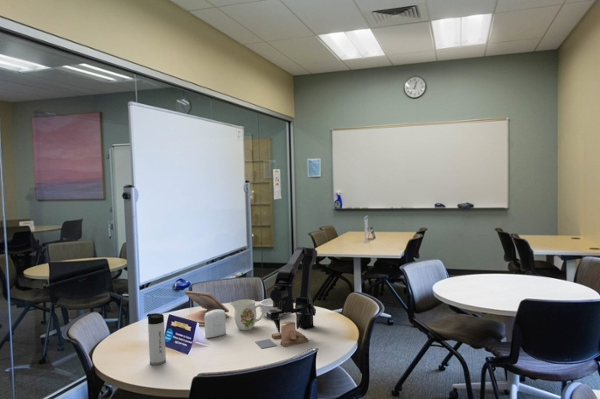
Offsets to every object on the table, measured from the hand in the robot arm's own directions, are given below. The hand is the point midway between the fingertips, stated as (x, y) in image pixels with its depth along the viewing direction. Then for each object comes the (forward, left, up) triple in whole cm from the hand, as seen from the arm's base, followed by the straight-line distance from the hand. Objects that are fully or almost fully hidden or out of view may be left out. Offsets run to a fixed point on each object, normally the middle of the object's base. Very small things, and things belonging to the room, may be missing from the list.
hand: (288, 330), depth 198 cm
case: (+27, -53, -5) cm, 60 cm away
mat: (+11, 0, -4) cm, 12 cm away
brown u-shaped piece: (0, 0, -4) cm, 4 cm away
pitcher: (+11, -26, -4) cm, 29 cm away
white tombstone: (+28, -23, -4) cm, 37 cm away
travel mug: (+57, -4, -4) cm, 57 cm away
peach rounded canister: (0, +2, -4) cm, 5 cm away
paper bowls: (-8, -38, -4) cm, 39 cm away
